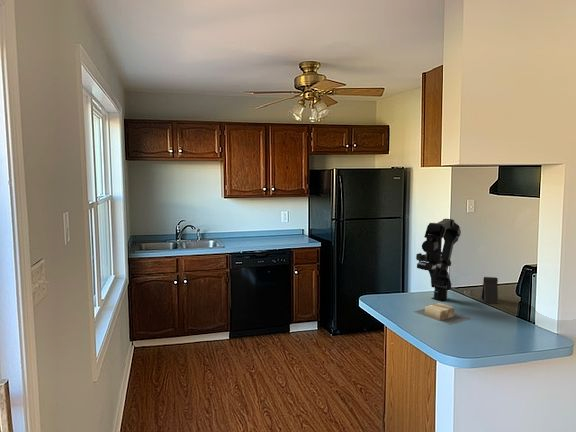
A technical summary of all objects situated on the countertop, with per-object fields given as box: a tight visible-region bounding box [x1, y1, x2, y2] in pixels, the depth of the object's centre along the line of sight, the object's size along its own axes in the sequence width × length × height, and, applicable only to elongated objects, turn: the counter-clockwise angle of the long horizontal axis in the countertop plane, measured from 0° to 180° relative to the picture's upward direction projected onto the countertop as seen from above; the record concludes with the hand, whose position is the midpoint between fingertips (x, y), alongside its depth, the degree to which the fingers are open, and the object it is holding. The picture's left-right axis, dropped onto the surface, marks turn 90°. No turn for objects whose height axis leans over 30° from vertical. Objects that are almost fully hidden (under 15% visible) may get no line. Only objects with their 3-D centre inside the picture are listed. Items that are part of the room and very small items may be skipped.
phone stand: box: [480, 276, 499, 304], centre depth 230 cm, size 9×6×12 cm, turn 170°
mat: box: [413, 308, 472, 326], centre depth 206 cm, size 15×20×1 cm
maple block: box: [424, 302, 455, 321], centre depth 205 cm, size 4×8×10 cm
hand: (433, 281), depth 219 cm, fingers closed
